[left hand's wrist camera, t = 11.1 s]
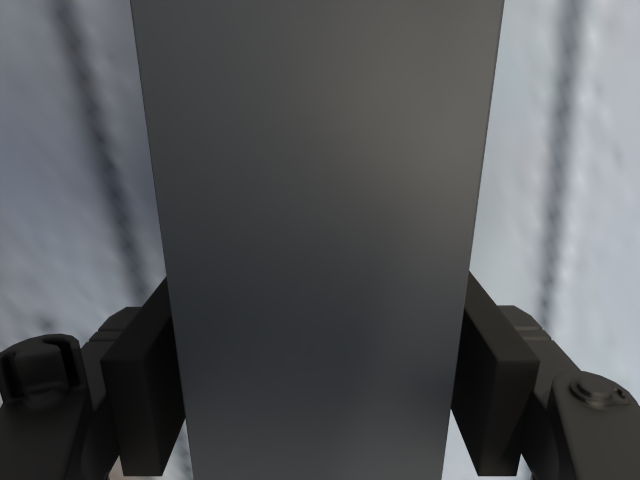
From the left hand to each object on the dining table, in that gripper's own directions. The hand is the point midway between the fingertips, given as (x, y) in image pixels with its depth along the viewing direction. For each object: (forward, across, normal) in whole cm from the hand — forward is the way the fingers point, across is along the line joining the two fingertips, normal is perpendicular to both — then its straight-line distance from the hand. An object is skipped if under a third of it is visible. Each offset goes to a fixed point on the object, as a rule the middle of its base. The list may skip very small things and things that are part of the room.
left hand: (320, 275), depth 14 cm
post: (+2, 0, -22) cm, 22 cm away
